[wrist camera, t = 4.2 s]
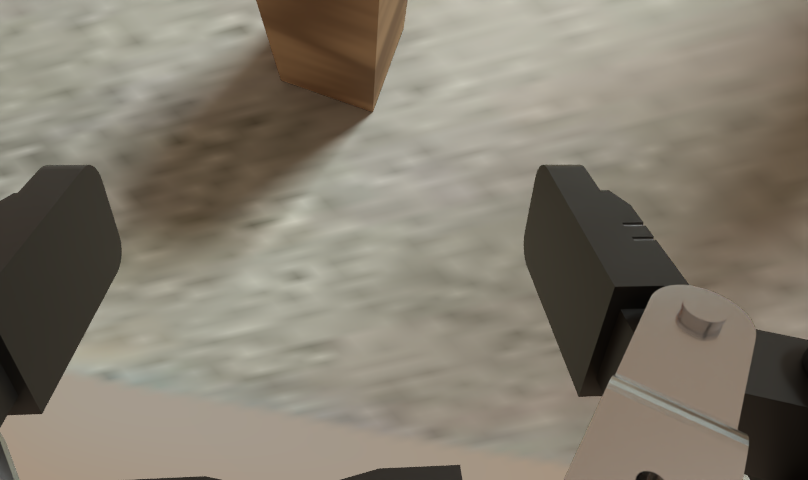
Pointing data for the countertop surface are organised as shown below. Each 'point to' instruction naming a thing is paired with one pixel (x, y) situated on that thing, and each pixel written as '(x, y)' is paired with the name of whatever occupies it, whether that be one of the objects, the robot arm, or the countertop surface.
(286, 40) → the pillar
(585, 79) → the countertop surface
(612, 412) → the robot arm
